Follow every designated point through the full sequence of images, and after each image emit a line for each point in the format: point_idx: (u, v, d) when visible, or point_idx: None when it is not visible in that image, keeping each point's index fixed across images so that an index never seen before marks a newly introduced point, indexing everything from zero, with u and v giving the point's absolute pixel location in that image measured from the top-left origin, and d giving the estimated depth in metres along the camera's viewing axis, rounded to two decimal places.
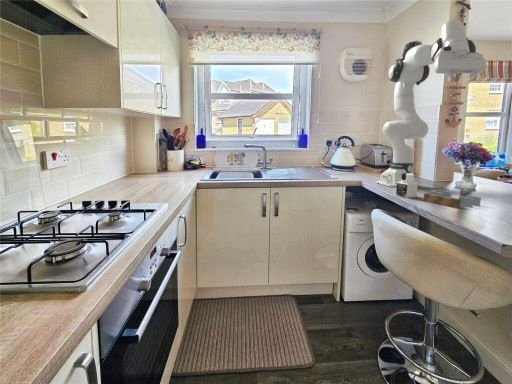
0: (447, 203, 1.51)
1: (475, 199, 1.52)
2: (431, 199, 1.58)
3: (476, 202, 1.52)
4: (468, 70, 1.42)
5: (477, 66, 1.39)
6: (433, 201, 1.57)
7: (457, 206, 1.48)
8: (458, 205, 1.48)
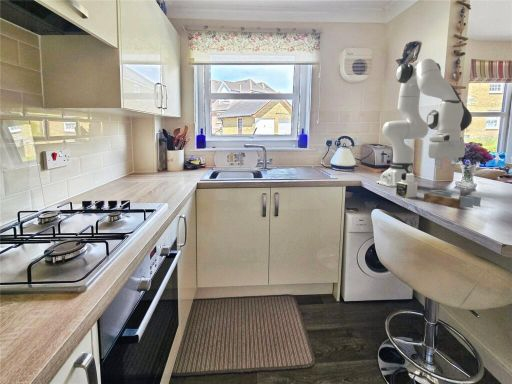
0: (447, 203, 1.51)
1: (475, 199, 1.52)
2: (431, 198, 1.58)
3: (476, 202, 1.52)
4: None
5: (459, 155, 1.51)
6: (433, 201, 1.57)
7: (457, 206, 1.48)
8: (458, 205, 1.48)
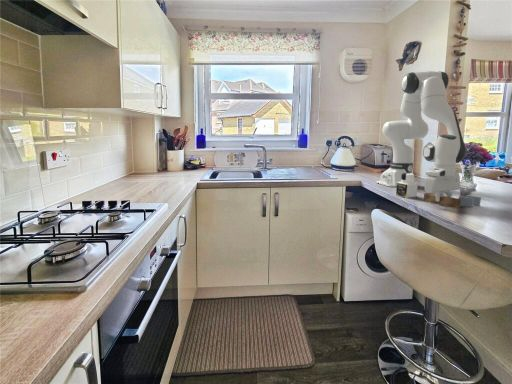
0: (447, 202, 1.51)
1: (475, 199, 1.52)
2: (431, 198, 1.58)
3: (476, 202, 1.52)
4: None
5: (454, 188, 1.55)
6: (433, 201, 1.57)
7: (457, 206, 1.48)
8: (458, 205, 1.48)
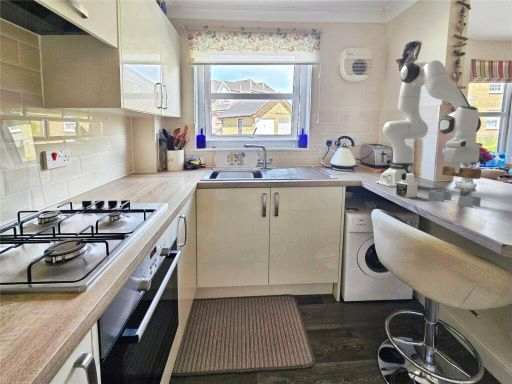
0: (467, 174, 1.50)
1: (475, 199, 1.52)
2: (450, 171, 1.57)
3: (476, 202, 1.52)
4: None
5: (474, 160, 1.54)
6: (452, 173, 1.56)
7: (478, 176, 1.48)
8: (479, 175, 1.48)
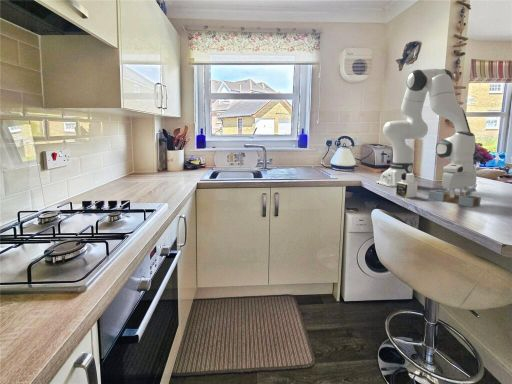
0: None
1: None
2: (447, 197, 1.60)
3: None
4: None
5: (471, 184, 1.57)
6: (449, 200, 1.59)
7: (474, 205, 1.50)
8: (475, 204, 1.50)
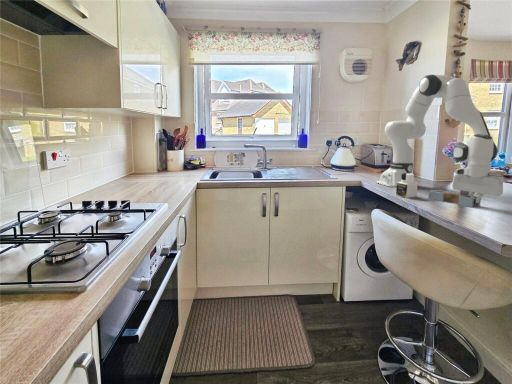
0: None
1: None
2: None
3: None
4: None
5: (487, 192, 1.43)
6: (446, 199, 1.60)
7: None
8: None
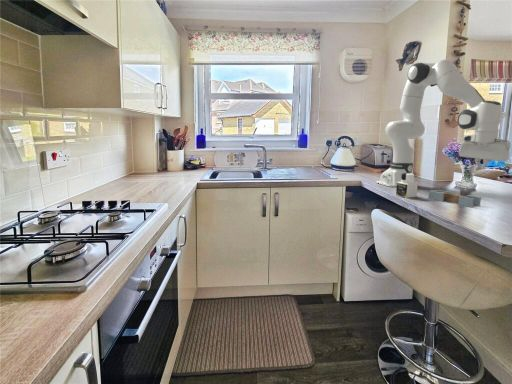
0: (455, 200, 1.56)
1: (475, 199, 1.52)
2: None
3: (476, 202, 1.52)
4: None
5: (494, 158, 1.45)
6: None
7: None
8: None
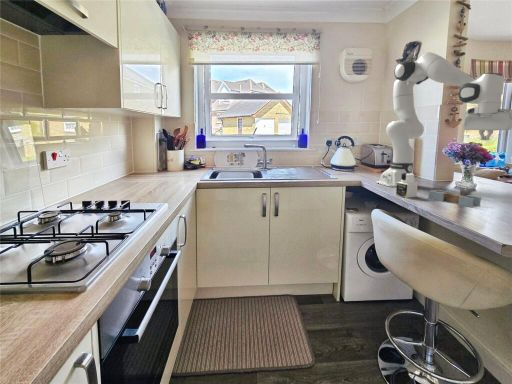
0: (455, 200, 1.56)
1: (475, 199, 1.52)
2: None
3: (476, 202, 1.52)
4: None
5: (498, 128, 1.48)
6: None
7: None
8: None
